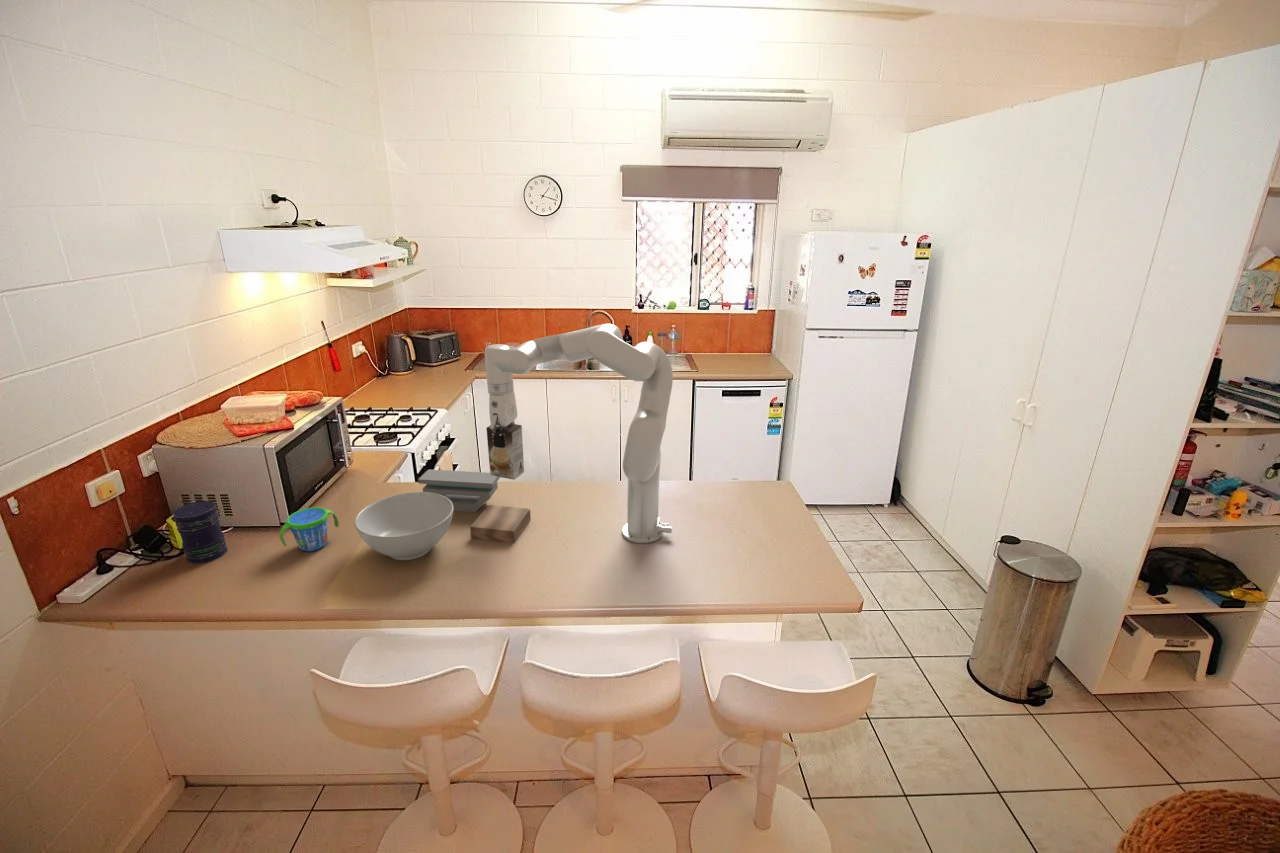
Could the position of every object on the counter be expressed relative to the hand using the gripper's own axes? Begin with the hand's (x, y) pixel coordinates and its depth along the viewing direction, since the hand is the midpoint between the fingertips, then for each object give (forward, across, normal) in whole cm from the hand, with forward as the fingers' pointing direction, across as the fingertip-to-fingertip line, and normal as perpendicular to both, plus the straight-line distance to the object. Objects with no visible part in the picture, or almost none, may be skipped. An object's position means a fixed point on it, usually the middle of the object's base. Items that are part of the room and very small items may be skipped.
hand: (504, 441), depth 181 cm
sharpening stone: (+28, +6, +20) cm, 35 cm away
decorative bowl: (+28, -22, +23) cm, 42 cm away
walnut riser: (+28, -5, +1) cm, 28 cm away
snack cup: (+28, -26, +52) cm, 64 cm away
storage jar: (+28, -37, +78) cm, 90 cm away
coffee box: (+11, 0, 0) cm, 11 cm away
